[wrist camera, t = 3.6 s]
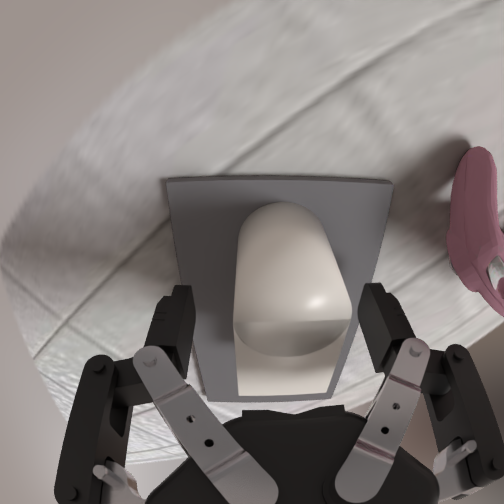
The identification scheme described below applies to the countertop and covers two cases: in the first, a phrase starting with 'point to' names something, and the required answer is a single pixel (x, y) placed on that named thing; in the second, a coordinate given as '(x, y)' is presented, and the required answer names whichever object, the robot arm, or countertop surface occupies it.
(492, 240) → the video game controller
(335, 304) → the plug block
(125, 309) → the countertop surface
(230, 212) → the rubber mat
